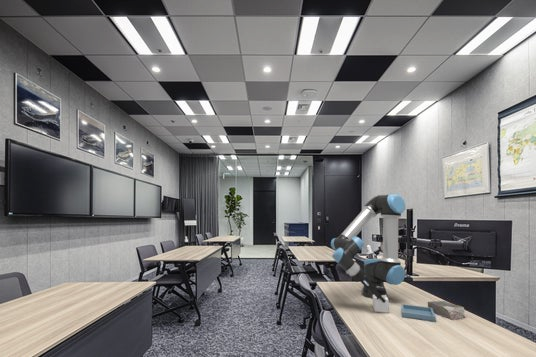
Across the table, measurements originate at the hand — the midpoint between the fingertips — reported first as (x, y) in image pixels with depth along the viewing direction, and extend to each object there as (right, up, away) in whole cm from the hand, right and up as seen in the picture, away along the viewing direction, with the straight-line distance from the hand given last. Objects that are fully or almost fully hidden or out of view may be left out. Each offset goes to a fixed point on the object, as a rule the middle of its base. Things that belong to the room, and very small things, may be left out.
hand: (387, 303), depth 156 cm
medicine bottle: (-3, -4, 0) cm, 5 cm away
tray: (+13, -3, -6) cm, 15 cm away
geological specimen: (+30, -4, -5) cm, 30 cm away
